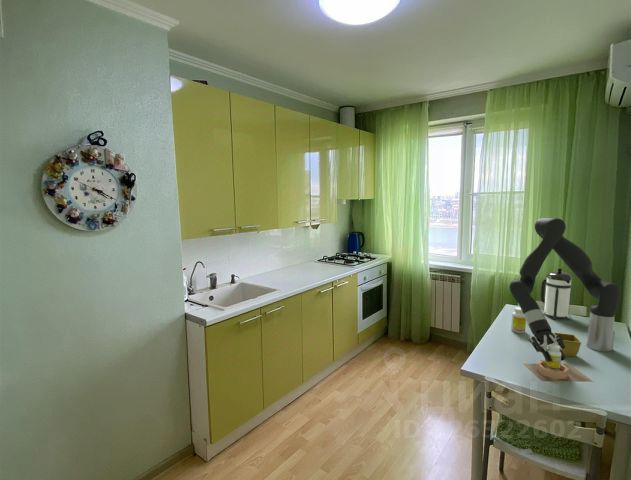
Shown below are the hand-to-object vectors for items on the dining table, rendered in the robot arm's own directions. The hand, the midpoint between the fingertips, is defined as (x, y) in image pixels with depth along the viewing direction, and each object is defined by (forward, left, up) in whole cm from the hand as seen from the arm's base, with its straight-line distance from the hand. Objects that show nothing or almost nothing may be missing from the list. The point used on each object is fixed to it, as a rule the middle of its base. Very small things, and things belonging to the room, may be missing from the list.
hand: (556, 360), depth 143 cm
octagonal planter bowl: (0, -2, -6) cm, 7 cm away
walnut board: (-2, -2, -7) cm, 8 cm away
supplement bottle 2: (0, -2, -4) cm, 5 cm away
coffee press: (-43, -71, -8) cm, 83 cm away
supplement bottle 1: (-10, -48, -8) cm, 49 cm away
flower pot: (-17, -20, -8) cm, 27 cm away
